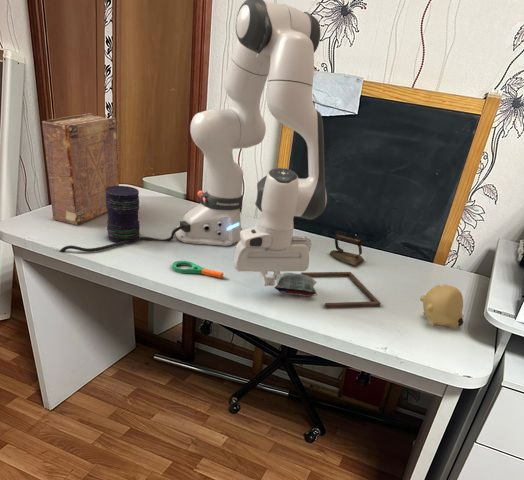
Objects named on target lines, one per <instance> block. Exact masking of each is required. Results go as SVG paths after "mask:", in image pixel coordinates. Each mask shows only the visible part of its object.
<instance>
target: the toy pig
mask: <svg viewBox="0 0 524 480" xmlns="http://www.w3.org/2000/svg"><path fill="white" fill-rule="evenodd" d="M419 300H420V302H422V309H423V313H422V314H423V316H425V317H426V318H427V320H428V321H429V326H431V327H433V326H435V325H437V326H445V327H448V328H457V327H462V325H463V324H464V319H463V318H464V314H463V308H464V297H463V294H462V292H461V291H460V290H459V289H458V288H457V287H455V286H453V285H449V284H439V285H436V286H434V287H431V288H430V289H429V290H428V291H427V292H426V294H425V295H421V296H420V297H419Z"/></svg>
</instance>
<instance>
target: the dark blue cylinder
mask: <svg viewBox="0 0 524 480" xmlns="http://www.w3.org/2000/svg"><path fill="white" fill-rule="evenodd" d="M105 191H106V208H107V212H106V213H107V221H106V230H107V234H108V235H107V239H108V240H109V241H110V242H112V243H113V244H114V243H118V242H122V241H125V240H128V241H129V242H128V243H126V244H125V245H130V244H135V243H137V242H139V241H140V240H137V238H138V237H141V236H140V234H141V233H140V232H141V228H140V226H141V225H140V220H139V211H140V194H139V193H140V192H139V189H137V188H135V187H133V186H128V185H127V186H126V185H119V186H111V187H108V188H106V189H105Z"/></svg>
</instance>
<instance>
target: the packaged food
mask: <svg viewBox="0 0 524 480" xmlns="http://www.w3.org/2000/svg"><path fill="white" fill-rule="evenodd" d="M275 281H276V283H277V285H275V286H273V287H274V289H275V290H277V291H278V292H279V293H280V294H286V295H294V296H303V297H312V296H314V295H315V296H318V293H317V291H316V290H315V288H314V287H315V285H316V284H317V282H318V281H317V280H315V279H314V278H313V277H310V276H307V275H303V274H301V273H296V272H295V273H293V272H283V273H280V275H279V277H278V278H277V279H276V280H275Z"/></svg>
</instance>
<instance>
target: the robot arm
mask: <svg viewBox="0 0 524 480" xmlns="http://www.w3.org/2000/svg"><path fill="white" fill-rule="evenodd" d="M235 34H236V38H237V40H236V41H235V45H234V47H233V50H232V53H231V57H230V59H229V63H228V67H227V69H226V73H225V77H224V80H223V87H224V90H225V91H224V92H225V93H226V95H227V96H228V97H229V98H230V99H231V100H230V101H231V102H230V105H229V108H227V109H207V110H204V111H200V112H197V113H196V114H194V116H193V117H192V120H191V121H190V126H189V132H190V137H191V140H192V141H193V142H194V144H195V146H197V147H198V149H200V151H201V152H202V154H203V157H204V158H205V162H206V166H207V190H206V191H205V192H204V191H203V190H199V191H198V192H197V196H198V198H200V203H198V204H197V205H196V206H195V207H193V208H191V209H190V210H188V211H187V212H186V213H184V216H183V219H182V220H180V221H179V225H177V226H176V227H175V229H173V230H172V232H171V234H170V237H168V238H165V239H164V238H163V239H160V238H154V237H151V236H140V237H138V238H137V240H139V241H152V242H171V241H172V240H173V239H174V238H175V236H176V238H177V239H178V240H179V241H180V242H183V243H185V244H195V245H197V244H199V245H209V246H210V245H211V246H223V247H230V246H232V245H233V244H235V243H237V244H236V245H235V248H234V254H233V261H232V262H233V263H232V264H233V267H234V269H235V270H236V271H237V272H238V273H239V272H240V273H241V272H246V273H249V272H260V274H261V276H262V278H263V279H262V284H263V286H264V287H275V286H276V285H275V284H276V281H277V280H276V279H277V278H278V277H279V275H280V274H281V272H307V270H308V269H309V267H310V266H309V265H310V251H311V249H312V244H313V243H312V240H311V239H310V238H308V237H307V236H294V228H295V224H294V219H295V217H298V218H301V219H306V220H311V221H312V220H314V219H316V218H318V217H320V216H321V215H322V214H324V212H325V209H326V206H327V202H328V201H327V200H328V198H327V188H326V178H325V177H326V176H325V137H324V136H325V135H324V122H323V117H322V113H321V112H320V111H319V110H317V109H316V107H315V104H314V100H313V86H314V78H315V77H314V75H315V52H316V51H317V49H318V48H319V45H320V41H321V25H320V22H319V20H318V19H317V17H315V16H314V15H312V14H311V13H309V12H308V11H302V10H300V9H298V8H296V7H293V6H290V5H288V4H285V3H282V4H281V3H277V2H272V1H265V0H245V1H244V2H243V3H242V4H241V5H240V7H239V9H238V11H237V15H236V18H235ZM266 82H267V87H266V105H267V108H268V110H269V112H270V114H271V115H272V117H273V118H275V120H276V121H277V122H279V123H281V124H282V125H284V126H285V127H287V128H288V129H291V130H292V131H294V132H296V133H297V134H299V136H300V137H302V138H303V139H304V141H305V143H306V146H307V164H308V165H307V167H308V168H307V169H308V170H307V171H308V177H306V178H300V177H299V176H298V174H297V173H296V172H295V171H293V170H291V169H288V168H284V167H275V168H272V169H270V170H269V171H268V172H267V174H266V175H265V176H263V177H262V178H261V179H260V180H259V181H258V182H257V184H256V189H257V191H256V199H255V202H254V205H255V206H256V207H257V209H258V210H259V211H260V212H261V216H260V219H259V223H258V225H255V226H252V227H248V228H245V229H242V223H241V213H242V210H243V204H244V203H243V201H244V199H243V198H244V197H243V195H242V193H243V183H244V171H243V169H242V167H241V166H240V165H239V164H238V163H237V162H236V161H235V160H234V156H233V150H235V149H236V150H238V149H248V148H252V147H254V146H257V145H260V144H261V143H262V142H263V140H264V138H265V135H266V131H267V130H266V129H267V127H266V122H265V119H264V117H263V116H262V114H261V109H260V108H261V107H260V105H261V98H262V95H263V92H264V89H265V86H266ZM128 242H129V241H128V240H125V241H122V242H118V243H114V242H113V243H110V244H106V245H102V246H98V247H90V248H85V247H81V246H76V245H66V246H63V247H62V248H61V249H60V250H59V253H64V252H65V251H67V250H76V251H80V252H87V253H91V252H99V251H103V250H108V249H111V248H114V247H119V246H123V245H127V244H126V243H128ZM269 272H273V274H272V275H271V276H270V277H267V275H268V273H269Z"/></svg>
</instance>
